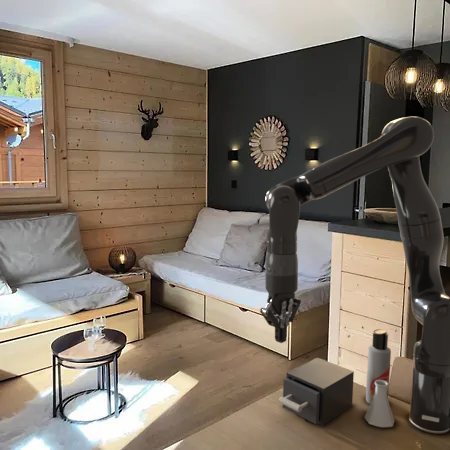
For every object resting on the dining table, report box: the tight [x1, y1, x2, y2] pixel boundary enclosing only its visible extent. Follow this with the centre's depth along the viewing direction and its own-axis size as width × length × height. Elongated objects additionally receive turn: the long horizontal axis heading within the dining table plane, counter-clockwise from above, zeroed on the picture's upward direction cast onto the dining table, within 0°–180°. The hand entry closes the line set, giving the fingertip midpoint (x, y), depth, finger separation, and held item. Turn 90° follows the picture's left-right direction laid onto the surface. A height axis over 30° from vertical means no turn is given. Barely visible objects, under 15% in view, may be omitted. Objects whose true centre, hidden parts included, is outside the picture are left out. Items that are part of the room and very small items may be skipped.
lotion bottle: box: [365, 328, 392, 405], centre depth 121 cm, size 6×6×20 cm
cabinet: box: [286, 357, 355, 426], centre depth 119 cm, size 14×12×10 cm
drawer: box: [278, 377, 321, 425], centre depth 116 cm, size 17×10×8 cm, turn 133°
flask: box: [364, 380, 395, 428], centre depth 113 cm, size 7×7×10 cm
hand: (280, 341), depth 108 cm, fingers closed
